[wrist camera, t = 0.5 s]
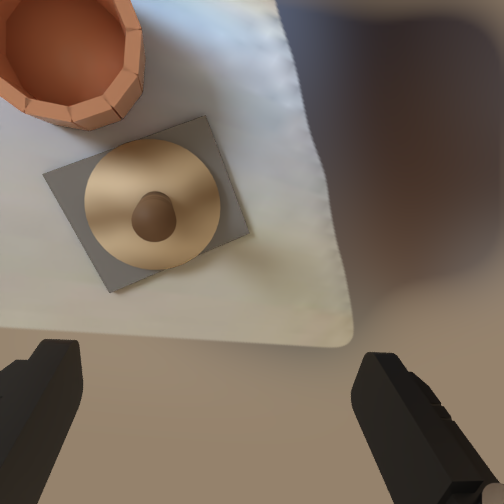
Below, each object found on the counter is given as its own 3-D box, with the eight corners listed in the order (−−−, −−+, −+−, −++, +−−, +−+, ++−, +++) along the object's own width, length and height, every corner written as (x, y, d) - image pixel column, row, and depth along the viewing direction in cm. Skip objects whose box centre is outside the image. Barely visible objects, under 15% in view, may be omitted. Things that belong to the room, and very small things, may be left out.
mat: (44, 174, 28) (42, 174, 28) (204, 116, 31) (205, 115, 30) (110, 290, 32) (109, 293, 32) (248, 232, 34) (249, 233, 34)
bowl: (-37, 1, 24) (-96, -49, 19) (107, -38, 26) (92, -95, 20) (43, 147, 28) (13, 142, 22) (165, 104, 30) (166, 90, 24)
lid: (59, 167, 28) (17, 168, 20) (190, 120, 30) (201, 103, 22) (124, 286, 32) (111, 328, 24) (236, 238, 34) (260, 261, 25)
